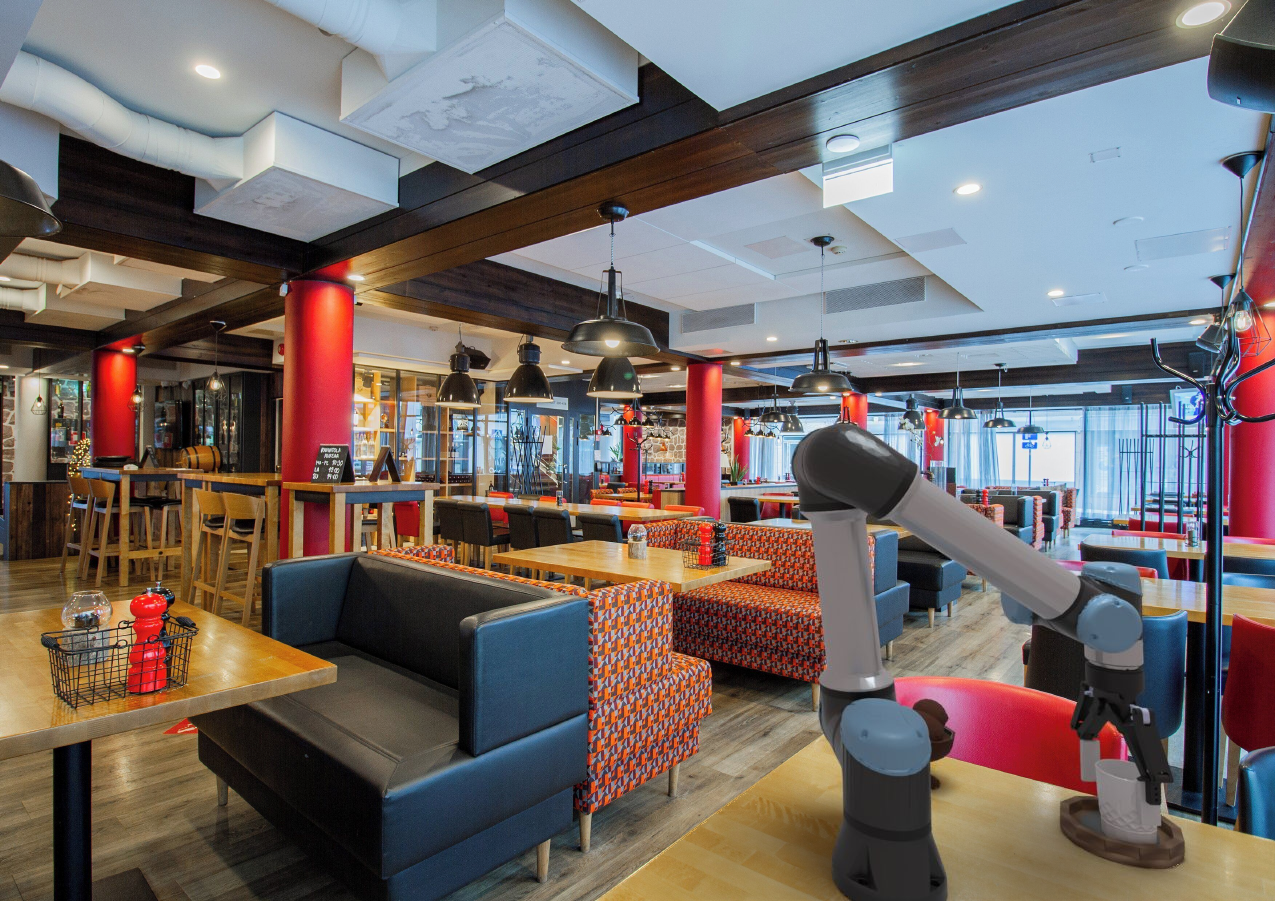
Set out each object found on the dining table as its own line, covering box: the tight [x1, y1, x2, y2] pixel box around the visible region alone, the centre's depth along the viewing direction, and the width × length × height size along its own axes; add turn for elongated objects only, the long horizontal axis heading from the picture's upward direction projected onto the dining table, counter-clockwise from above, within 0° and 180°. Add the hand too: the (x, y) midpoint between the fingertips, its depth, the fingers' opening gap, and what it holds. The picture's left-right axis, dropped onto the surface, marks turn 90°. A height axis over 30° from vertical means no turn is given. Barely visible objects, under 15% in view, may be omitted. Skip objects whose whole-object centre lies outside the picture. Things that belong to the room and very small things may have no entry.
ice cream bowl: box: [911, 698, 956, 791], centre depth 123 cm, size 11×11×15 cm
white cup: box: [1095, 758, 1158, 844], centre depth 101 cm, size 8×8×10 cm
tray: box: [1059, 795, 1186, 870], centre depth 104 cm, size 16×16×3 cm
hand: (1118, 801), depth 104 cm, fingers open, 13 cm apart
